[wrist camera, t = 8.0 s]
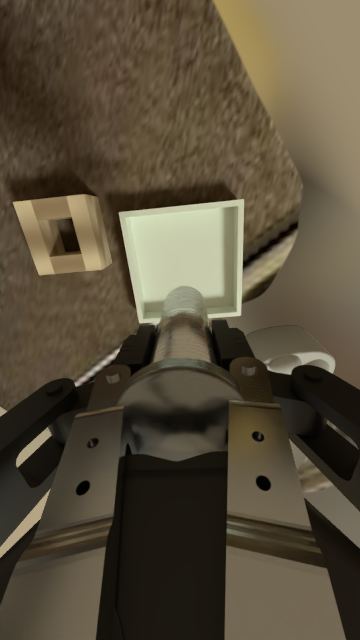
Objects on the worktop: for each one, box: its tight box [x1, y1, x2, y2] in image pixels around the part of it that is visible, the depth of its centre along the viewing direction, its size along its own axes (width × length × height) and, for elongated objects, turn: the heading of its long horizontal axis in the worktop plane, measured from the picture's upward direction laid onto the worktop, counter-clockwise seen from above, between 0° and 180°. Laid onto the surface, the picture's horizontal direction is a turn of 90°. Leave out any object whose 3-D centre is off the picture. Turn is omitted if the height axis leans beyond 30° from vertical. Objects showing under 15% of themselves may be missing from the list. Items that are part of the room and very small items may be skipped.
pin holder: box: [13, 194, 112, 275], centre depth 27 cm, size 8×8×4 cm
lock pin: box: [117, 286, 244, 461], centre depth 12 cm, size 4×4×11 cm
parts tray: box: [119, 199, 244, 323], centre depth 29 cm, size 14×14×3 cm
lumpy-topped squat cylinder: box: [245, 325, 335, 375], centre depth 33 cm, size 10×13×9 cm
